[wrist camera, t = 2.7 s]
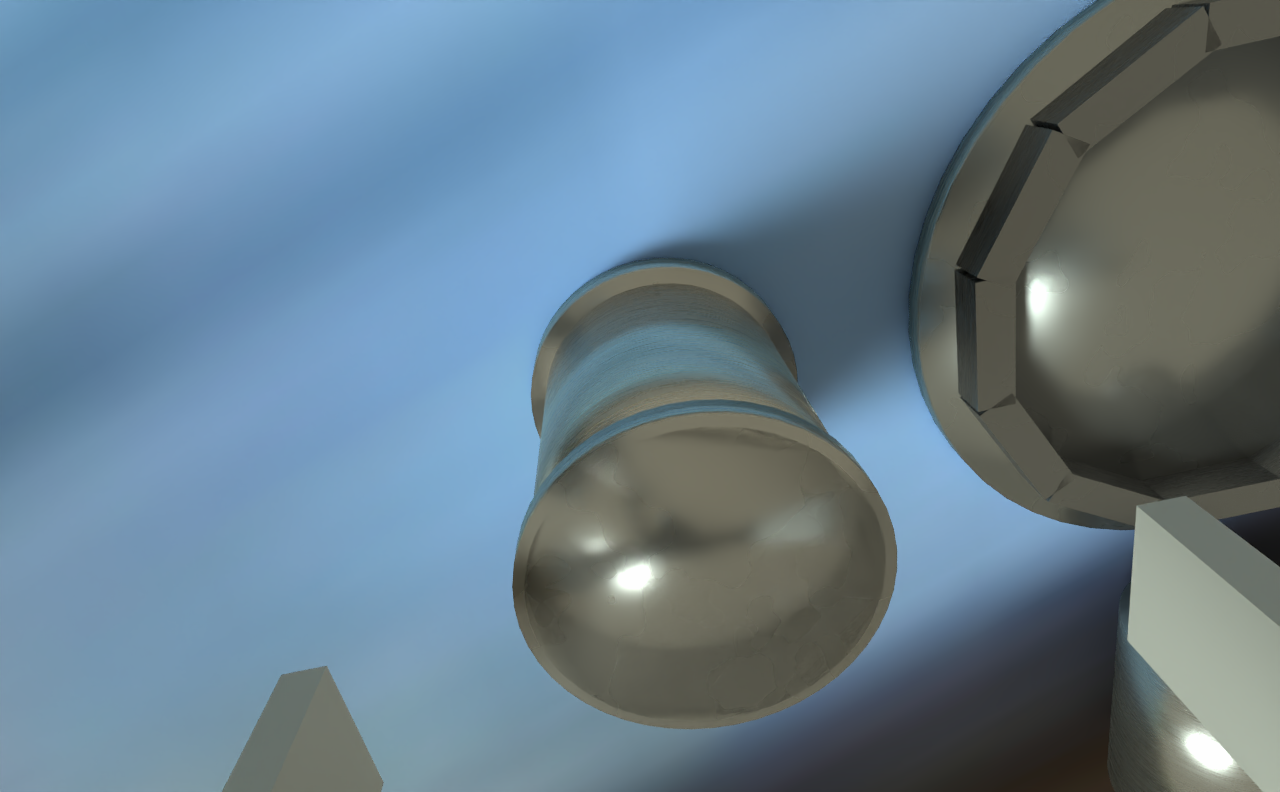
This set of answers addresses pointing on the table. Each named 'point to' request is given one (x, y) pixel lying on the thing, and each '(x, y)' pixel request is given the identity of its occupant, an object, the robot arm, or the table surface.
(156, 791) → the table surface
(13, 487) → the table surface
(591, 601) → the knob
